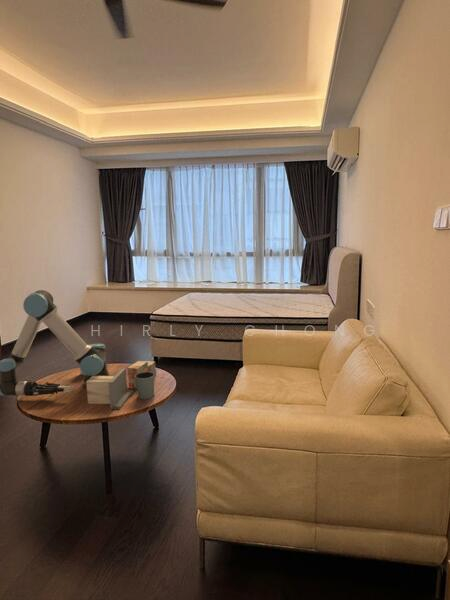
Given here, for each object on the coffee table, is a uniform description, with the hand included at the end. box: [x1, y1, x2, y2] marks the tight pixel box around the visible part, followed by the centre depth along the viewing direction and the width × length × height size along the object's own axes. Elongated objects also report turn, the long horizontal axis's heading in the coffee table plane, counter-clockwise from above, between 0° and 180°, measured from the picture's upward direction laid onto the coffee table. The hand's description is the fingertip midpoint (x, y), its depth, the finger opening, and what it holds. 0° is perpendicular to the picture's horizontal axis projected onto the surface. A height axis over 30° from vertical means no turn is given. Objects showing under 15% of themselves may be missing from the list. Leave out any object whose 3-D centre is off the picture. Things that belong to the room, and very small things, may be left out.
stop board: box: [109, 367, 134, 410], centre depth 200 cm, size 20×5×14 cm, turn 176°
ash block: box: [86, 375, 115, 405], centre depth 201 cm, size 8×14×12 cm, turn 86°
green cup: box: [135, 372, 156, 400], centre depth 206 cm, size 10×10×12 cm
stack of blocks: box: [127, 360, 157, 390], centre depth 227 cm, size 21×6×12 cm, turn 163°
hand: (70, 389), depth 203 cm, fingers closed
